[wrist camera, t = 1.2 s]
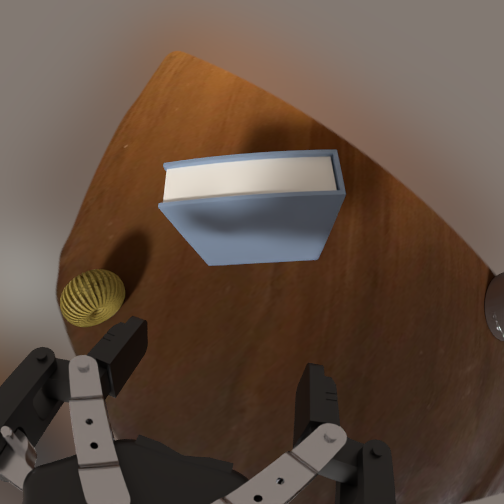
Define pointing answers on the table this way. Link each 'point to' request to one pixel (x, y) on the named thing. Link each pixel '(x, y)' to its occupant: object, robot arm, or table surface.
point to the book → (255, 204)
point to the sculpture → (92, 298)
